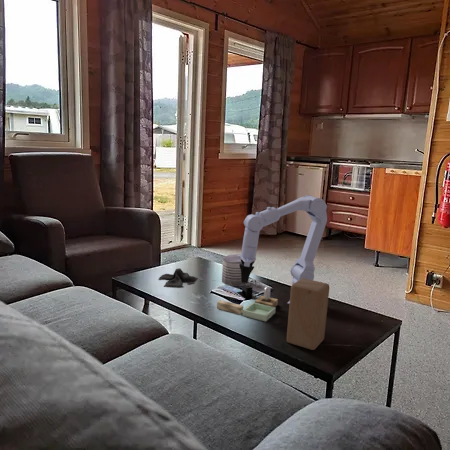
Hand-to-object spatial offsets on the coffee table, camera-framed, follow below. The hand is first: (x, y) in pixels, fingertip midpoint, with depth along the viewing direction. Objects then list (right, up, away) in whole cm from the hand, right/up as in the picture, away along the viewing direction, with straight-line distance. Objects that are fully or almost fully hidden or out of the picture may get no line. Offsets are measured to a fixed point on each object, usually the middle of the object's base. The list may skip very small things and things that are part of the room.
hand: (244, 279), depth 163 cm
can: (-4, -5, +31) cm, 31 cm away
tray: (+5, -12, -5) cm, 14 cm away
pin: (+9, -11, +4) cm, 15 cm away
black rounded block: (+2, -9, +15) cm, 17 cm away
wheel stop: (-6, -11, -2) cm, 13 cm away
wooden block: (+19, -17, -25) cm, 36 cm away
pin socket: (+9, -11, +4) cm, 15 cm away
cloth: (-28, -5, +29) cm, 41 cm away
